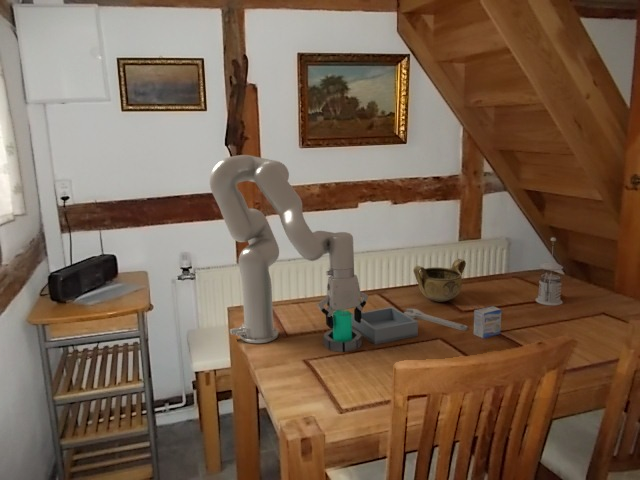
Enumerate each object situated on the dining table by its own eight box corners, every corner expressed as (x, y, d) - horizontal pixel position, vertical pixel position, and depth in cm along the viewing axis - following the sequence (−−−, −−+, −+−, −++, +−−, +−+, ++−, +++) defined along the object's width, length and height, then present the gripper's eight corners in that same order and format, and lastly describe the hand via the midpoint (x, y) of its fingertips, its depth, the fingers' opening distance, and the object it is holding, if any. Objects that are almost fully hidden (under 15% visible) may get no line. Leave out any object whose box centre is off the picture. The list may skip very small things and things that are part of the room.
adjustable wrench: (468, 330, 190) (469, 325, 189) (457, 335, 186) (457, 330, 185) (411, 311, 208) (411, 307, 208) (399, 316, 204) (399, 311, 204)
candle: (350, 348, 176) (350, 312, 173) (331, 347, 177) (331, 311, 174) (353, 341, 182) (352, 305, 179) (335, 339, 183) (334, 304, 180)
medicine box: (482, 339, 181) (483, 313, 179) (472, 334, 185) (474, 309, 183) (500, 334, 185) (502, 309, 183) (490, 329, 188) (492, 305, 186)
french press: (564, 299, 217) (569, 236, 211) (559, 308, 207) (564, 242, 202) (538, 295, 222) (542, 233, 216) (531, 304, 212) (535, 239, 207)
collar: (333, 354, 172) (333, 345, 171) (318, 340, 182) (318, 332, 182) (367, 347, 176) (367, 338, 176) (350, 334, 187) (350, 326, 186)
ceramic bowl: (449, 289, 232) (450, 254, 228) (476, 301, 216) (478, 263, 213) (403, 297, 223) (404, 261, 219) (428, 310, 208) (429, 271, 204)
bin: (374, 344, 178) (374, 329, 177) (352, 327, 193) (351, 314, 192) (417, 335, 185) (417, 321, 183) (392, 320, 199) (392, 306, 198)
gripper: (321, 279, 167) (324, 333, 171) (372, 271, 174) (373, 323, 178) (311, 273, 174) (314, 325, 178) (361, 265, 181) (362, 316, 184)
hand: (344, 324), depth 178 cm, fingers open, 9 cm apart
